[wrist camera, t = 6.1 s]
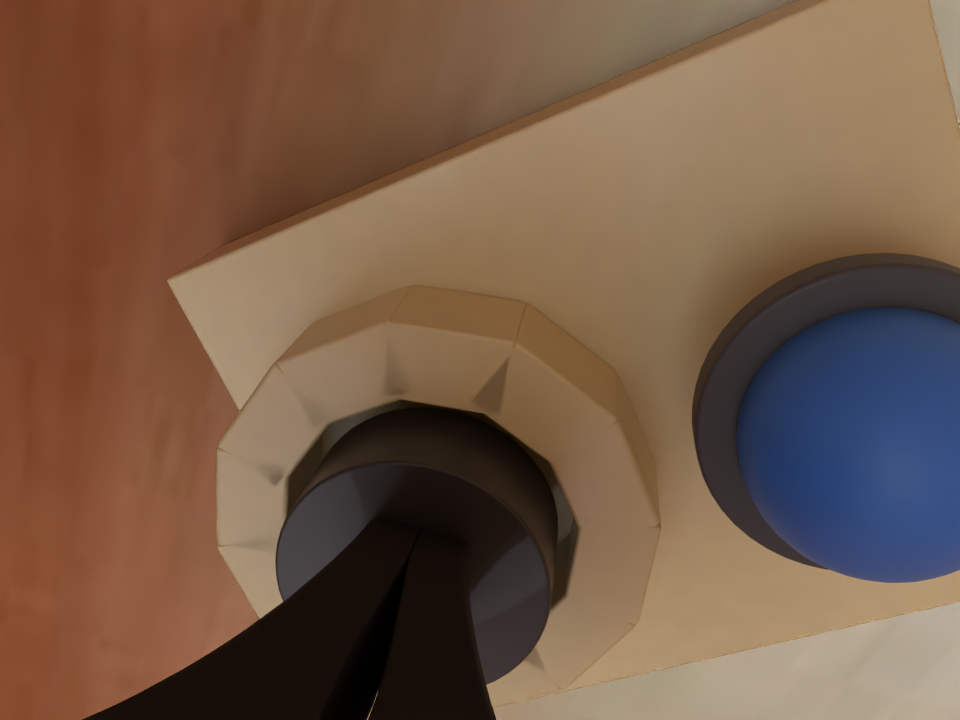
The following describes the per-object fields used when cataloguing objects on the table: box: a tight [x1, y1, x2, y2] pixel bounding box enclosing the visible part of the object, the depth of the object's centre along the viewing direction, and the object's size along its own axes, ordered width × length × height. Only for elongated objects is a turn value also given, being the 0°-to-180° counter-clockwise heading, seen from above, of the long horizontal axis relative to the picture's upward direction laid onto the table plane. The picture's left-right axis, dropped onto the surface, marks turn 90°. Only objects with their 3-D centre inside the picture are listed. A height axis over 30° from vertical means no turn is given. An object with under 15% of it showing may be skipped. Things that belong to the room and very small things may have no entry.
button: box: [275, 408, 558, 685], centre depth 13 cm, size 4×4×2 cm
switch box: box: [167, 0, 960, 708], centre depth 14 cm, size 12×10×4 cm
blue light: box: [692, 253, 960, 583], centre depth 11 cm, size 4×4×3 cm
